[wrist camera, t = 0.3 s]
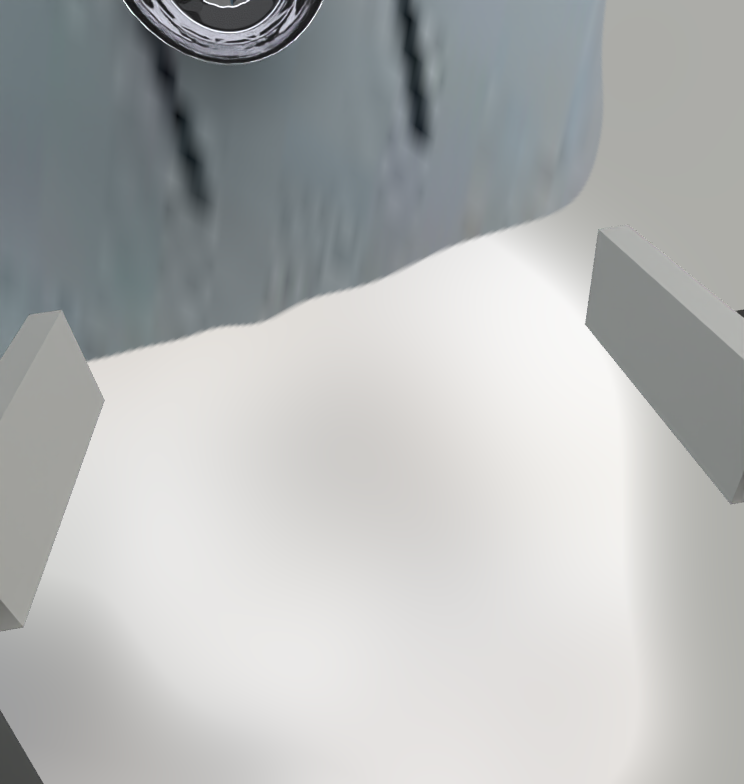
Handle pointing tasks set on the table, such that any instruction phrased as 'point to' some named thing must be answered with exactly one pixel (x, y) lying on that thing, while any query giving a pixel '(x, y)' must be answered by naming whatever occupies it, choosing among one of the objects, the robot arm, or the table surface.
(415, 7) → the table surface
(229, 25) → the wine glass
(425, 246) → the table surface
